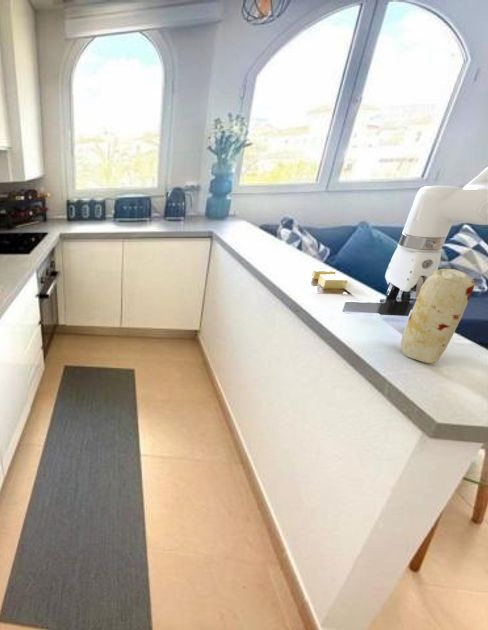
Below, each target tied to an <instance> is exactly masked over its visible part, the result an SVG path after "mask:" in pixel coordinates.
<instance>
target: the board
mask: <svg viewBox="0 0 488 630" xmlns="http://www.w3.org/2000/svg"><path fill="white" fill-rule="evenodd" d="M291 278H292V279H293V280H294V281H295V282H296V283H297V284H298V285H299V286H300V287H301V288H302V289H303V290H304V291H305V292H306V294H321V295H322V294H324V295H325V294H326V295H352V293H351V292H350V291H349V290H347V289H346V288H345V289H332V288H323V287H322V286H321V285H319V284H318V280H319V279H313V278H312V276H302V275H301V276H299V275H297V276H295V275H294V276H293V275H291Z"/></svg>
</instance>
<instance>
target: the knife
mask: <svg viewBox="0 0 488 630" xmlns="http://www.w3.org/2000/svg"><path fill="white" fill-rule="evenodd" d="M393 301H394V299H386V298H380V299H379V301H358V300H357V301H356V300H355V301H353V300H345V301H344V305H343V308H342V312H343V313H359V314H361V313H363V314H378V315H380V316H391V315H390V314H389V311H390V308H391V306H392V303H393ZM414 305H415V302H413V301H412V302H410V303H409V306H408V308H407V311H406V313H405V315H403V316H402V317H410V314H411V312H412V310H413V307H414ZM392 316H393V317H394V316H396V317H401V316H400V315H392Z"/></svg>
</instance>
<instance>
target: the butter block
mask: <svg viewBox="0 0 488 630" xmlns="http://www.w3.org/2000/svg"><path fill="white" fill-rule="evenodd" d="M347 283H348V279H347V278H345V277H344V276H343V275H342V274H335V275H320V276H319V280H318V284H319V285H321V286H322V287H323V288H332V289H346V287H347Z"/></svg>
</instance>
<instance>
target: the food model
mask: <svg viewBox="0 0 488 630" xmlns="http://www.w3.org/2000/svg"><path fill="white" fill-rule="evenodd" d="M475 286H476V283H475V280H474V279H473V278H472V277H470V276H469V275H468V274H466V272H463V271H460V270H459V269H455V268H438V270H436V271H435V272H434V273H433V275H432V276H430V277H429V278H428V279H427V280H426V281H425V282H424V284H423V285H422V287H421V290H420V293H419V295H418V297H417V299H415V302H414V304H413V306H412V309H411V311H410V314H409V316H408V320H407V323H406V326H405V328H404V331H403V333H402V337H401V341H400V344H399V345H400V351H401V353H402V354H403V355H404V356H405V357H407V358H410V359H413V360H417V361H420V362H422V363H425V364H433V363H437V362H438V361H439V359H440V358H441V357H442V355H443V354H444V352H445V350H446V349H447V347H448V345H449V343H450V342H451V340H452V338H453V336H454V334H455V332H456V330H457V328H458V325H459V323H460V322H461V320H462V317H463V315H464V313H465V310H466V308H467V306H468V303H469V300H470V298H471V295H472V293H473V291H474V289H475Z"/></svg>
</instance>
